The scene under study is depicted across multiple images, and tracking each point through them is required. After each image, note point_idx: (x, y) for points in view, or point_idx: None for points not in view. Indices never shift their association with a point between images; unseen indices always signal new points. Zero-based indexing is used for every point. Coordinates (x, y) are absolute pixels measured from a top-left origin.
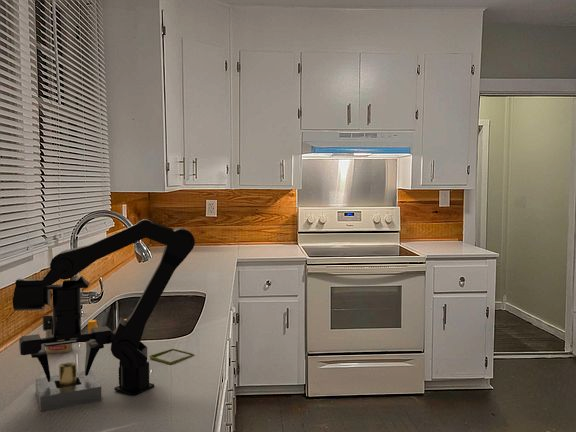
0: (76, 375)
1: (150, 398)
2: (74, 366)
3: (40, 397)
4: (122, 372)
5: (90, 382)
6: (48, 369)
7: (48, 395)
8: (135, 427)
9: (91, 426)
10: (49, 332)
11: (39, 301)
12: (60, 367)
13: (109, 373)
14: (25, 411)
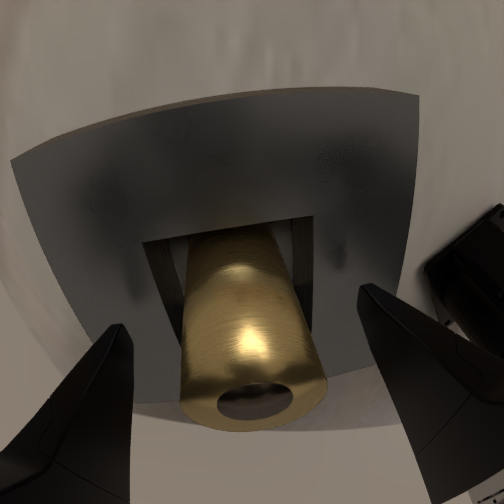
0: (306, 168)
1: (457, 329)
2: (304, 409)
3: (135, 402)
4: (478, 338)
5: (357, 320)
6: (126, 442)
7: (162, 400)
8: (359, 428)
9: (287, 429)
10: None
11: None
12: (198, 420)
13: (455, 4)
14: (87, 341)
